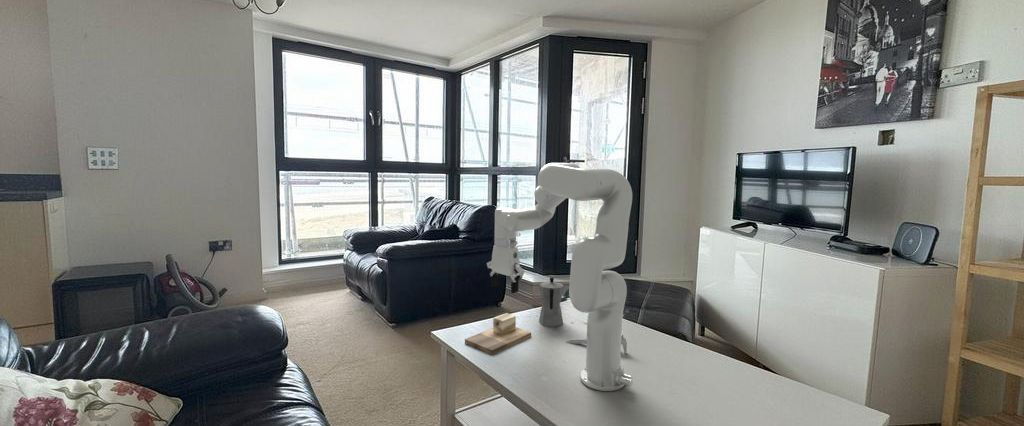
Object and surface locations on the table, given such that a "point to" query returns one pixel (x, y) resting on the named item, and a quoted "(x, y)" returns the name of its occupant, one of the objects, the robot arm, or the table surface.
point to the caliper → (584, 341)
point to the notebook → (497, 340)
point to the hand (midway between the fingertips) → (504, 289)
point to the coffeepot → (551, 303)
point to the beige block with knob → (504, 323)
